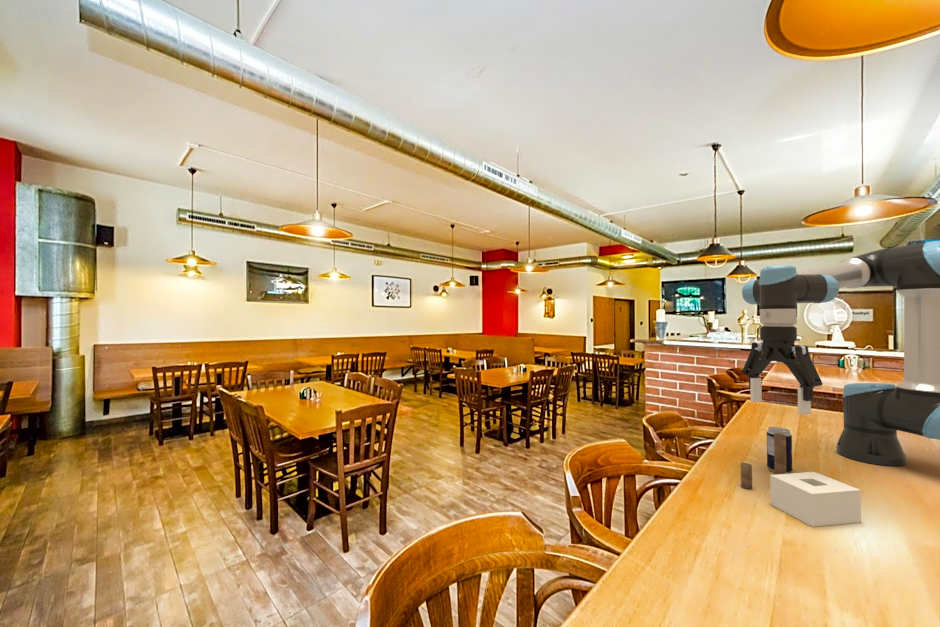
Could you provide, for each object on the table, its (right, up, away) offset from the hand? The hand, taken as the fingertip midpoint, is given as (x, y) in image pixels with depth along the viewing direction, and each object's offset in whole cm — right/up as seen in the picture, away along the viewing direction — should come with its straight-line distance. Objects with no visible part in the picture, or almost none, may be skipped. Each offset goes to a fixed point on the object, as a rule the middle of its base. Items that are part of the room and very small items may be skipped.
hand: (778, 407), depth 101 cm
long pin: (0, -21, 0) cm, 21 cm away
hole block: (-2, -21, -12) cm, 25 cm away
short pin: (-8, -21, +1) cm, 23 cm away
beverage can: (+9, -21, +11) cm, 26 cm away
